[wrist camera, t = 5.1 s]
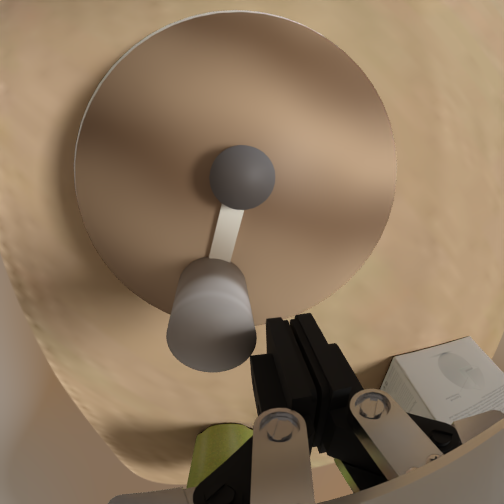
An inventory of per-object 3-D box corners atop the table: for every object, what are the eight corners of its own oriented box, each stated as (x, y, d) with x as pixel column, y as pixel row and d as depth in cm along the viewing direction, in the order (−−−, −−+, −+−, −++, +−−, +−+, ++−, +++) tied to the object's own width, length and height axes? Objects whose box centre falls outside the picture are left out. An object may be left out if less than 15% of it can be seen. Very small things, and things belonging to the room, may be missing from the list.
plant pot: (191, 462, 25) (192, 531, 17) (164, 414, 21) (155, 504, 13) (279, 454, 25) (295, 523, 17) (276, 404, 22) (297, 495, 14)
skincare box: (371, 404, 24) (414, 489, 14) (391, 355, 21) (454, 449, 12) (448, 380, 25) (494, 443, 15) (470, 334, 22) (530, 398, 13)
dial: (133, 6, 9) (97, -46, 4) (407, 87, 12) (479, 78, 7) (78, 278, 13) (32, 335, 9) (326, 327, 16) (360, 391, 11)
